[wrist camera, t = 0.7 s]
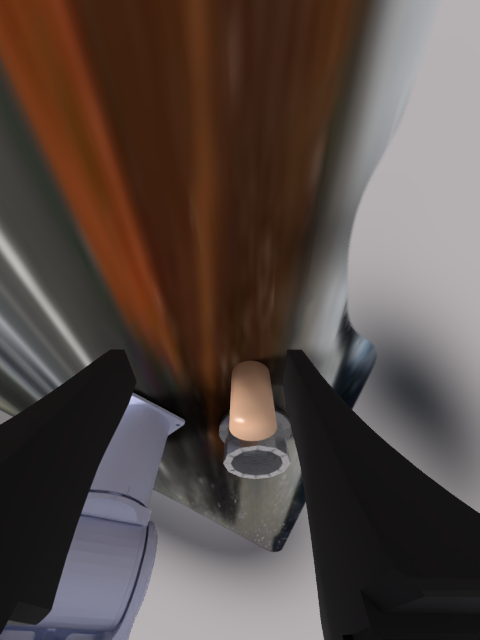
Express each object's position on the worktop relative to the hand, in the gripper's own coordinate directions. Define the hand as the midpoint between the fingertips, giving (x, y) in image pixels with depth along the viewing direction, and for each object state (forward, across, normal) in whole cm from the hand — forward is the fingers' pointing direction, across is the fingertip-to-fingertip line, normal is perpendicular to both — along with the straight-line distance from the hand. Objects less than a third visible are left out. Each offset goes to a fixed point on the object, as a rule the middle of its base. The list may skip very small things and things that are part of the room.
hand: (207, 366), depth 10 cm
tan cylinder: (+9, -2, +11) cm, 14 cm away
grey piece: (+9, -3, +20) cm, 22 cm away
